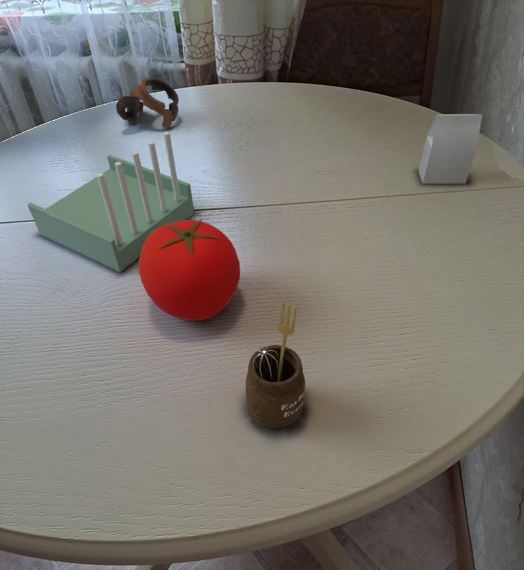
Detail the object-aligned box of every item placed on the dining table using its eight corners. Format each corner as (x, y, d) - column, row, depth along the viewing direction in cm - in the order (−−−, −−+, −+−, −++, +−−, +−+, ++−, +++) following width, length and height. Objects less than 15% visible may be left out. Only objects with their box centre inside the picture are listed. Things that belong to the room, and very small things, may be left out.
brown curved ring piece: (149, 108, 101) (163, 71, 95) (177, 142, 100) (193, 108, 94) (99, 113, 93) (111, 73, 86) (129, 150, 92) (143, 113, 85)
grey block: (465, 183, 79) (485, 120, 72) (422, 183, 80) (438, 121, 72) (460, 171, 82) (479, 109, 74) (418, 171, 82) (433, 109, 74)
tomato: (259, 311, 62) (257, 241, 54) (174, 350, 58) (157, 281, 50) (213, 259, 68) (205, 191, 60) (134, 291, 64) (114, 222, 56)
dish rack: (40, 234, 73) (3, 149, 63) (117, 183, 81) (95, 101, 72) (120, 272, 67) (93, 184, 57) (194, 213, 75) (182, 128, 66)
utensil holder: (237, 419, 51) (229, 342, 42) (262, 374, 55) (259, 294, 46) (291, 439, 50) (294, 363, 41) (312, 391, 53) (320, 312, 44)
